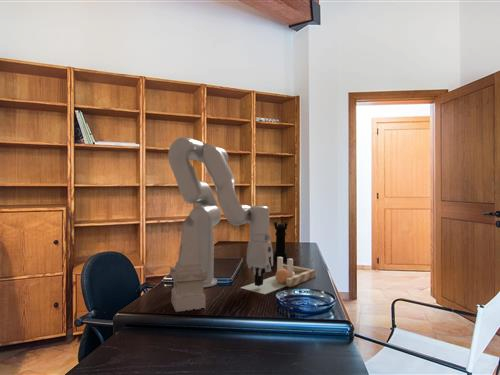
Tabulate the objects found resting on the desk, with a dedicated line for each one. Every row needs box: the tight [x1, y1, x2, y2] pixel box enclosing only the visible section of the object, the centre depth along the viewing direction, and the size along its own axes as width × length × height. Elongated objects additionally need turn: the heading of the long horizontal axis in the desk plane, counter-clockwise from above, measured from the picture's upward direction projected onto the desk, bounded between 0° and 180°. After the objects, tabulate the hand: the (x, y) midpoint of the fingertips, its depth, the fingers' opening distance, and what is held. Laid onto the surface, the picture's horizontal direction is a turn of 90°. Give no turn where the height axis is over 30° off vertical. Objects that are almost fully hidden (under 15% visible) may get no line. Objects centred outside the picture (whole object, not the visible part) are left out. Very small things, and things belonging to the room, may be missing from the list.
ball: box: [274, 269, 290, 284], centre depth 144 cm, size 6×6×6 cm
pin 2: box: [286, 258, 294, 277], centre depth 149 cm, size 2×2×9 cm
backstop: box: [283, 263, 317, 288], centre depth 153 cm, size 21×18×3 cm
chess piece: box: [273, 221, 289, 262], centre depth 190 cm, size 8×8×20 cm
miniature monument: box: [169, 215, 207, 312], centre depth 117 cm, size 10×10×30 cm
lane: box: [240, 274, 298, 295], centre depth 147 cm, size 34×12×1 cm, turn 141°
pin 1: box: [276, 257, 284, 272], centre depth 152 cm, size 2×2×9 cm
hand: (258, 285), depth 137 cm, fingers closed
